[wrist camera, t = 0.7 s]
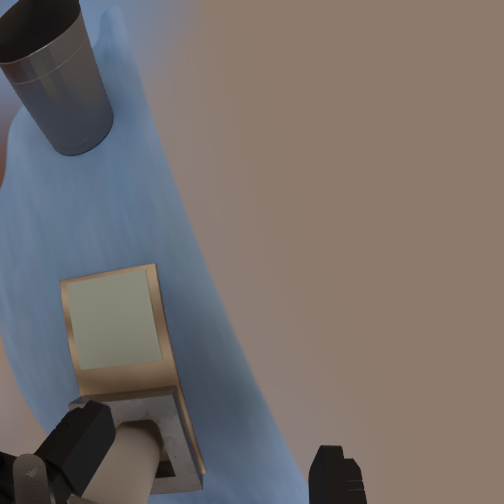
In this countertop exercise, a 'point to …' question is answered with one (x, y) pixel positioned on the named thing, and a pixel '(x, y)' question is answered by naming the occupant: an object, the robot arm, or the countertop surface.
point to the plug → (126, 466)
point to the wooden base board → (132, 364)
